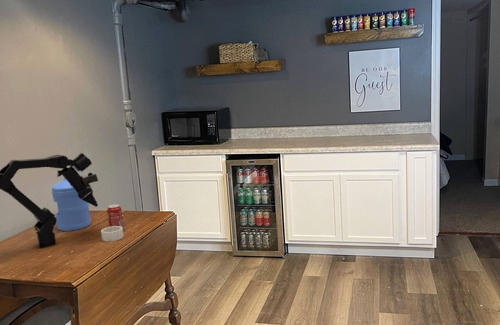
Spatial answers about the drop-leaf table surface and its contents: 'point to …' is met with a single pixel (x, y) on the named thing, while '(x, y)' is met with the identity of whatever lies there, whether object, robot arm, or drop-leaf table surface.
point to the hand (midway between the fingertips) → (96, 204)
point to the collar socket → (112, 233)
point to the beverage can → (115, 215)
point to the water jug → (70, 207)
